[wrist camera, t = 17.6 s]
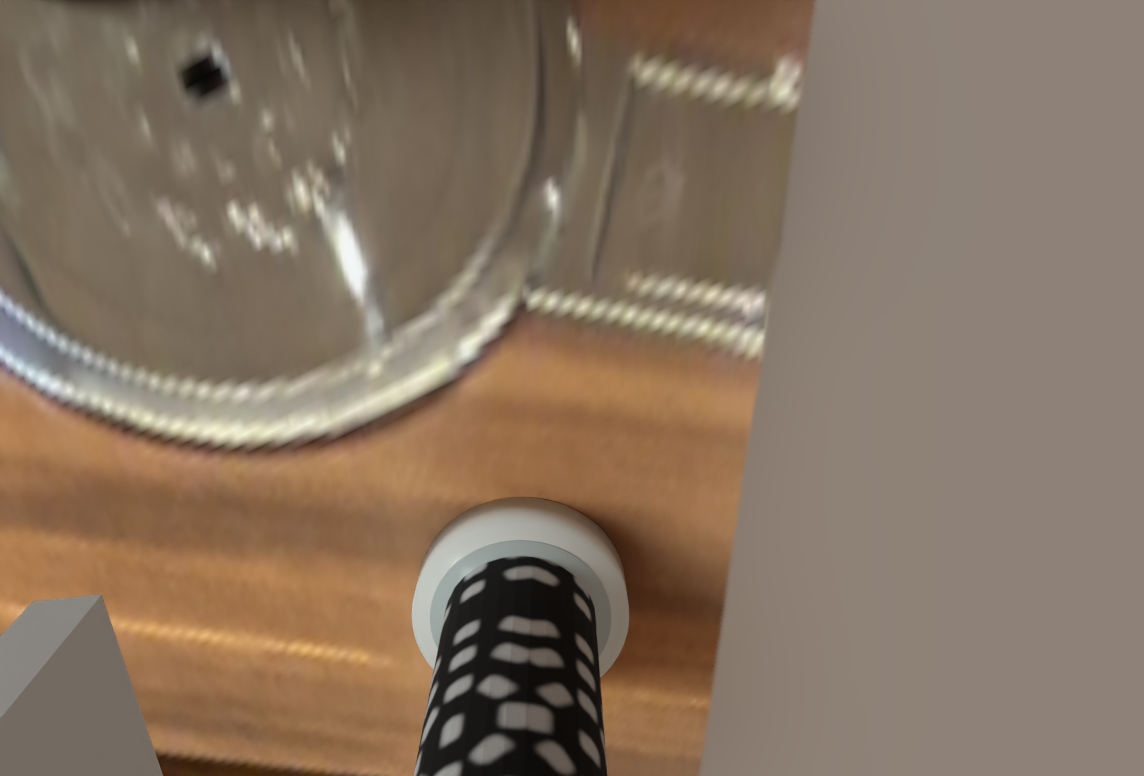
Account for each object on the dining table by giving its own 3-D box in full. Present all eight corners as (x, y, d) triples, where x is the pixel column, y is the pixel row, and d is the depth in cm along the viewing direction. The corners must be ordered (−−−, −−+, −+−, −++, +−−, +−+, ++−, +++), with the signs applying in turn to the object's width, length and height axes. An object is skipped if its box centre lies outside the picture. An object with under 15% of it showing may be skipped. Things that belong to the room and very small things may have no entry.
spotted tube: (413, 605, 49) (328, 952, 31) (538, 528, 48) (527, 845, 29) (504, 705, 52) (475, 1081, 33) (625, 635, 50) (666, 989, 32)
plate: (436, 682, 55) (429, 718, 52) (403, 508, 51) (394, 536, 48) (632, 663, 55) (637, 698, 52) (616, 486, 50) (620, 514, 48)
